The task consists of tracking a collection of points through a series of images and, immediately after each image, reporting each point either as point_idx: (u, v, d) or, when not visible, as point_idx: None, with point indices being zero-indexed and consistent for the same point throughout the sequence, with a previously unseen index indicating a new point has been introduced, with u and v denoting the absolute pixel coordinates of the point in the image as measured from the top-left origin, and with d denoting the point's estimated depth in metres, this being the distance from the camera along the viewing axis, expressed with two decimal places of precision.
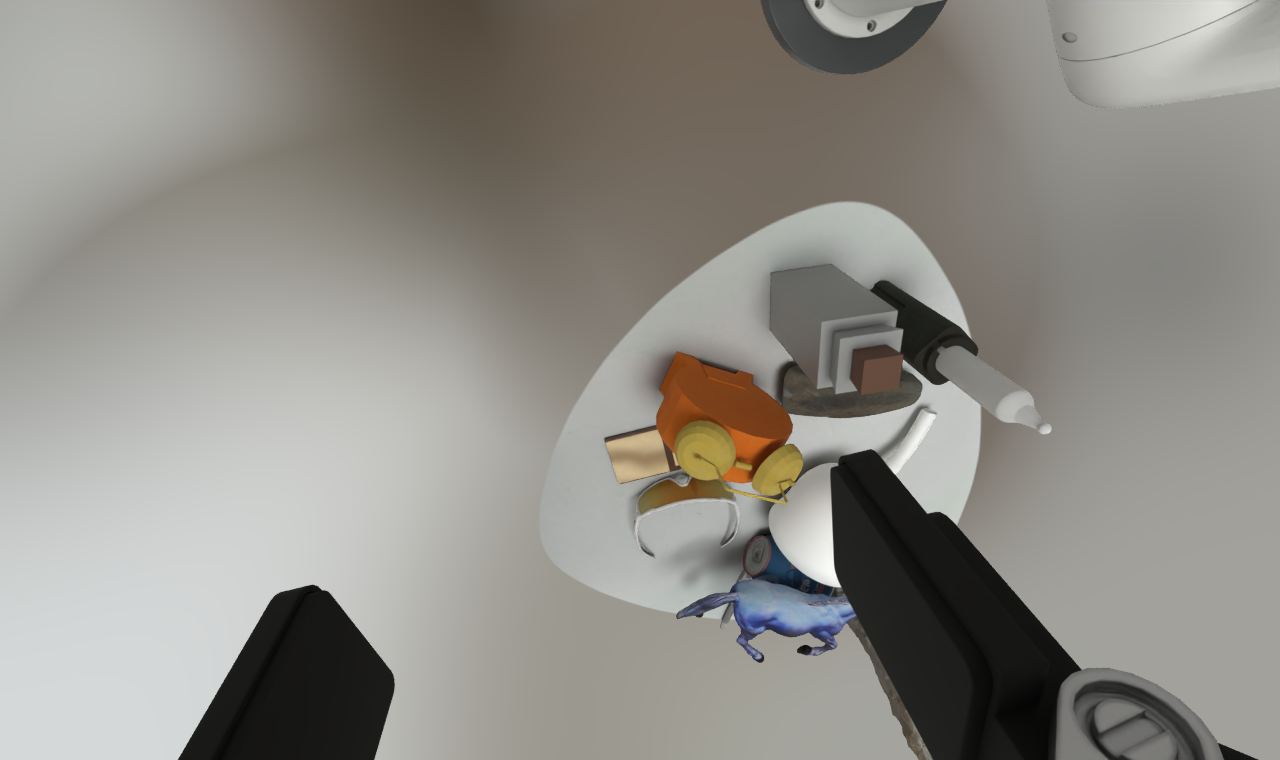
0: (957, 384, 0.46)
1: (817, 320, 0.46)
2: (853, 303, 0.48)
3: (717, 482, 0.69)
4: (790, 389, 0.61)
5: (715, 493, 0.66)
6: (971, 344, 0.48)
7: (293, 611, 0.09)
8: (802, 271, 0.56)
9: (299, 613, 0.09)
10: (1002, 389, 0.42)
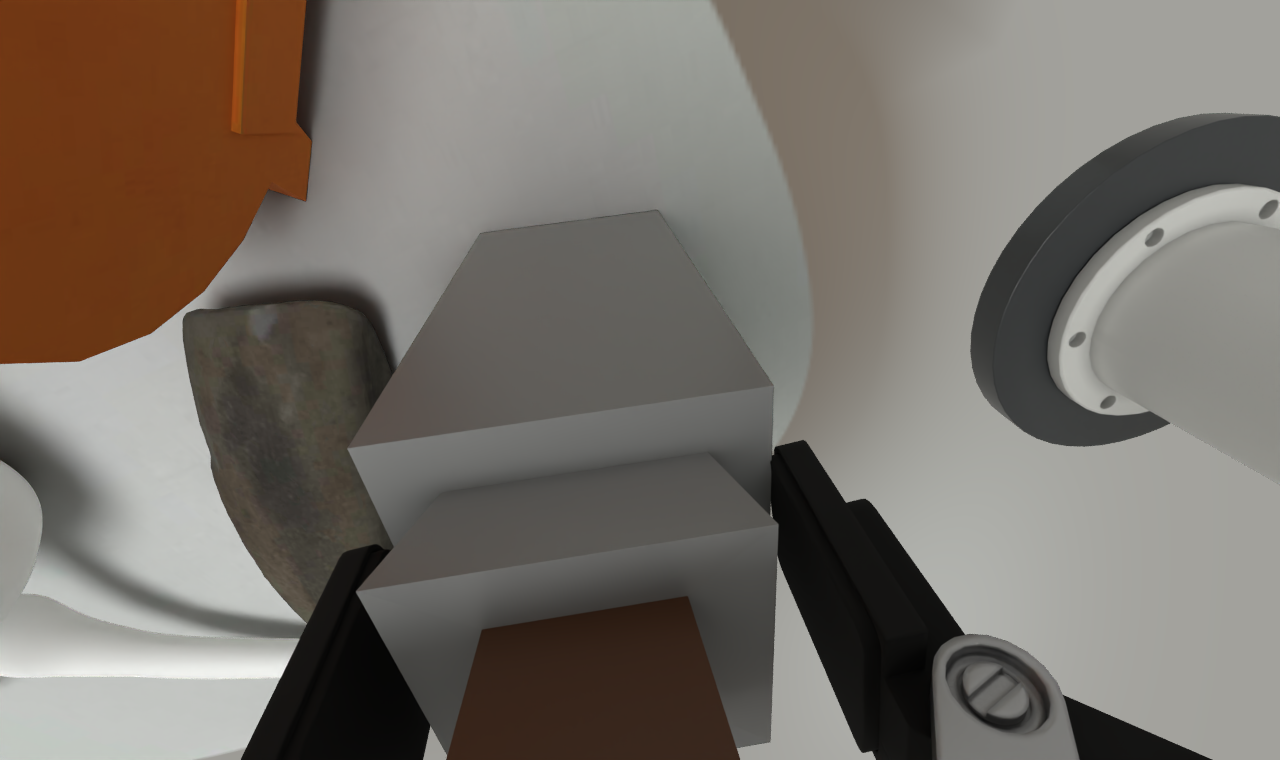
0: None
1: (743, 362, 0.09)
2: None
3: None
4: (281, 328, 0.18)
5: None
6: None
7: (362, 567, 0.09)
8: None
9: (368, 568, 0.09)
10: None
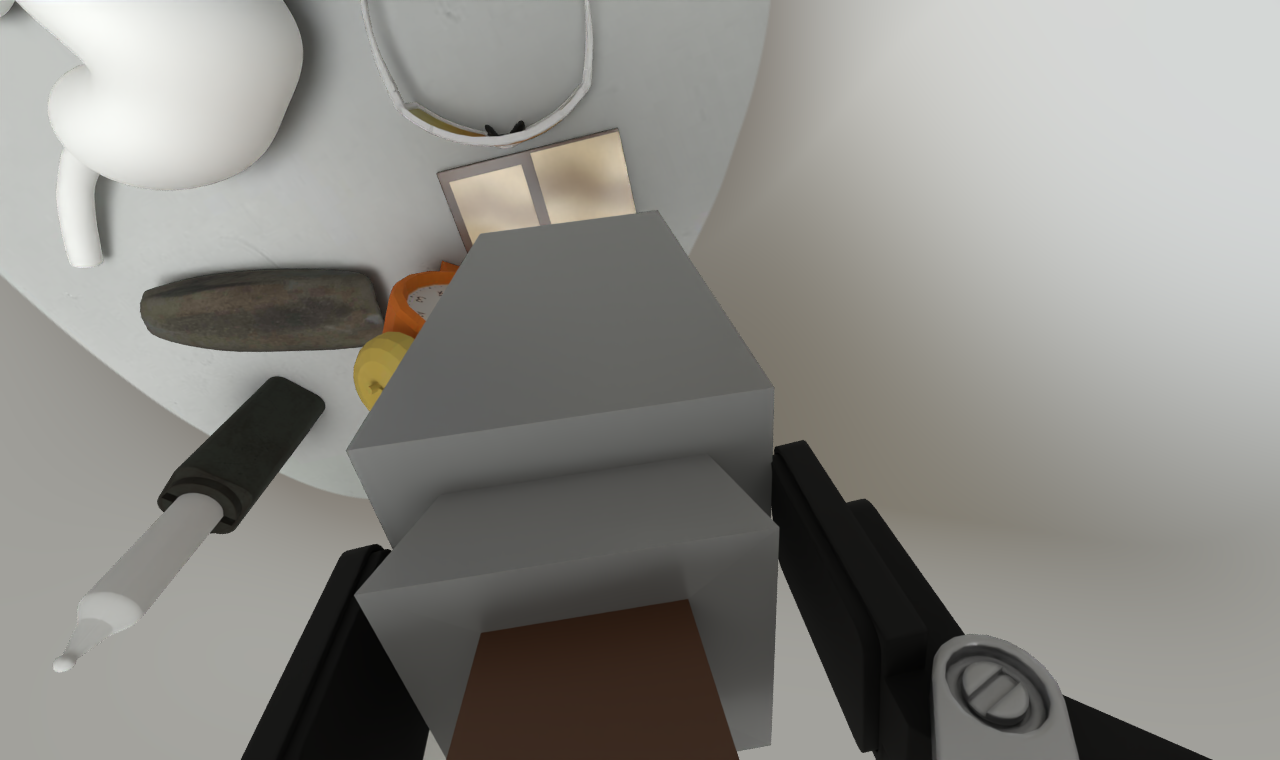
0: (185, 533, 0.34)
1: (743, 364, 0.09)
2: None
3: None
4: (372, 325, 0.42)
5: None
6: None
7: (362, 567, 0.09)
8: None
9: (368, 568, 0.09)
10: (145, 611, 0.31)
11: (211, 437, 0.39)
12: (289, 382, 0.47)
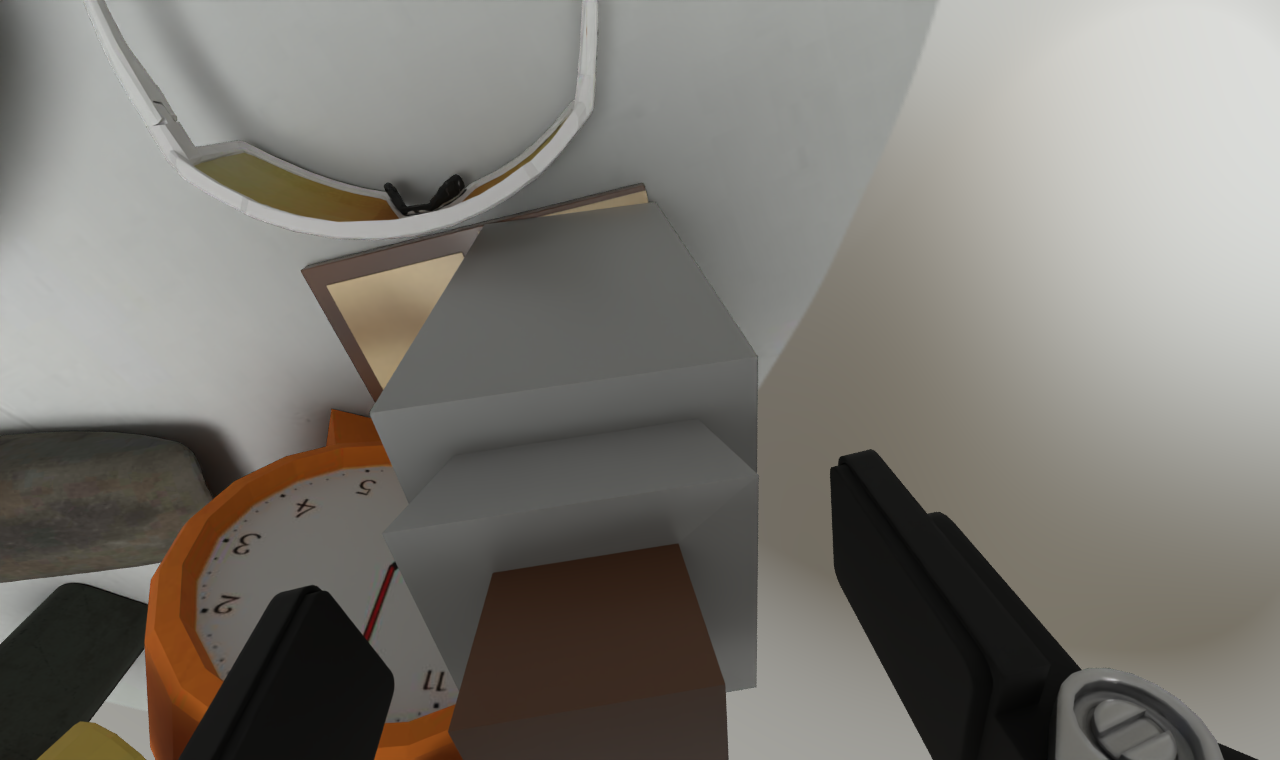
0: None
1: (731, 337, 0.10)
2: None
3: None
4: None
5: None
6: None
7: (293, 611, 0.09)
8: None
9: (299, 613, 0.09)
10: None
11: None
12: (92, 592, 0.28)
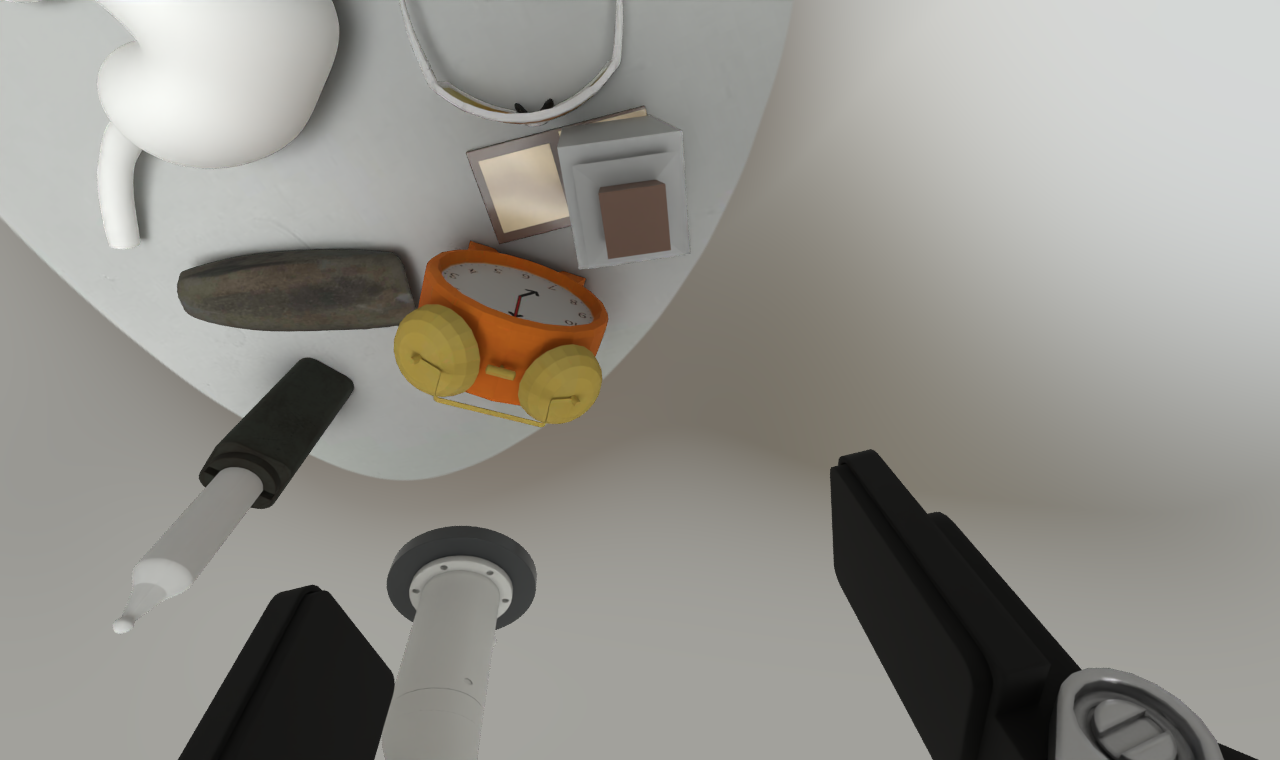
0: (229, 505, 0.34)
1: (674, 129, 0.29)
2: None
3: None
4: (403, 304, 0.43)
5: None
6: None
7: (293, 611, 0.09)
8: None
9: (299, 613, 0.09)
10: (195, 579, 0.32)
11: (249, 414, 0.39)
12: (319, 363, 0.47)
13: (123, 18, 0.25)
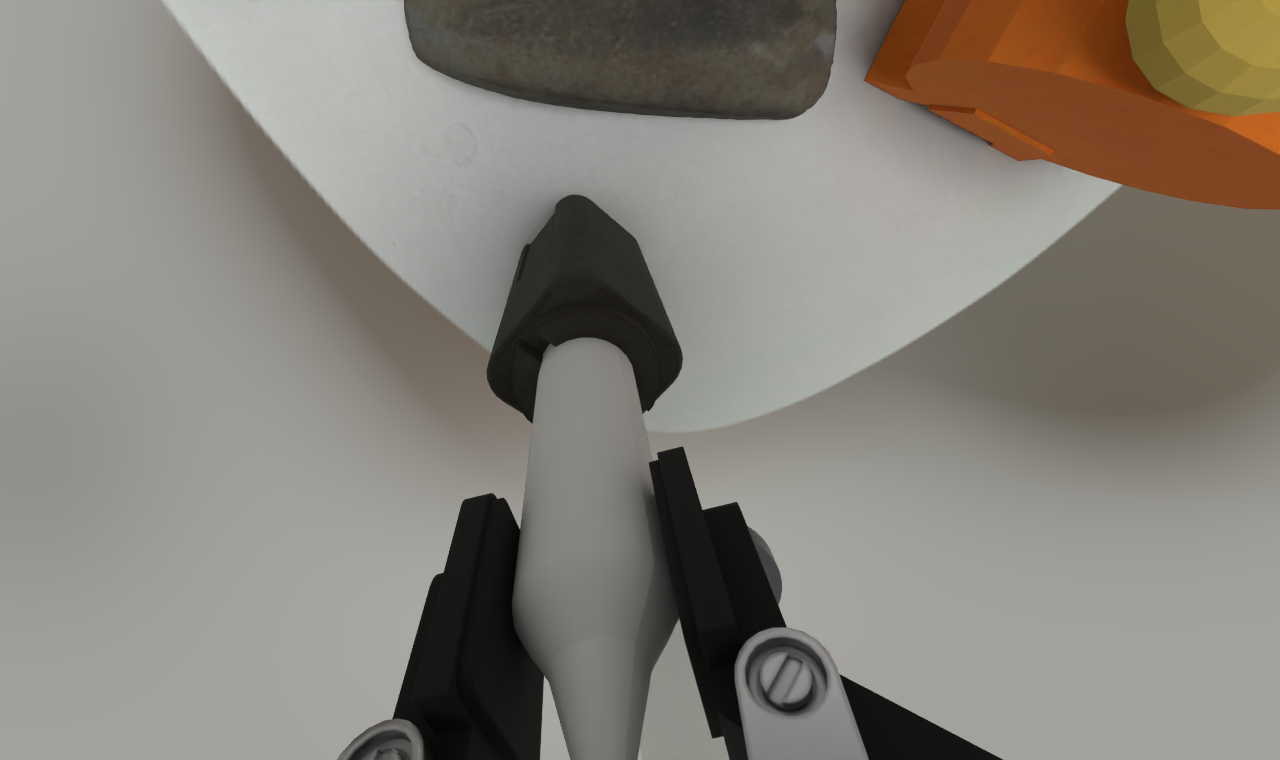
0: (638, 413, 0.13)
1: None
2: None
3: None
4: (818, 60, 0.22)
5: None
6: None
7: (484, 512, 0.10)
8: None
9: (491, 513, 0.10)
10: None
11: (566, 244, 0.18)
12: (596, 206, 0.26)
13: None
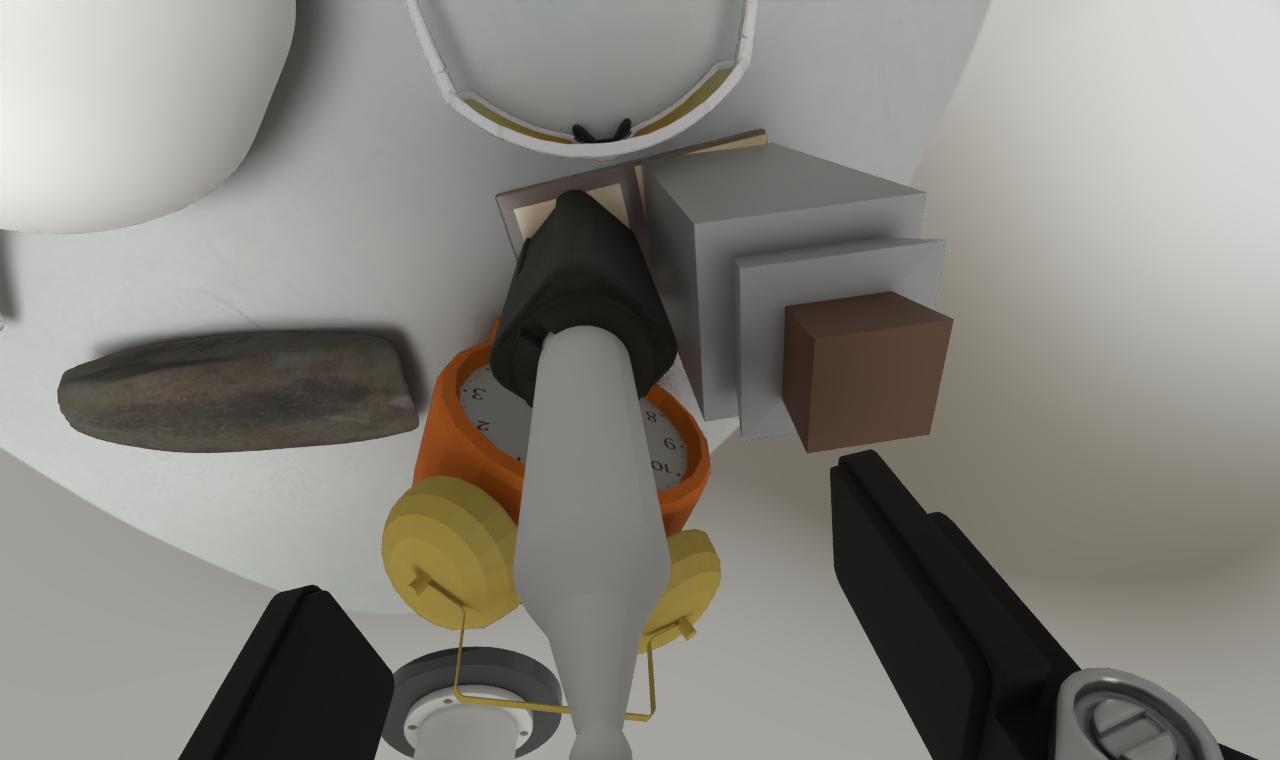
0: (633, 397, 0.14)
1: (901, 188, 0.16)
2: None
3: None
4: (398, 411, 0.30)
5: None
6: None
7: (293, 611, 0.09)
8: None
9: (299, 613, 0.09)
10: None
11: (566, 237, 0.19)
12: (595, 200, 0.27)
13: None
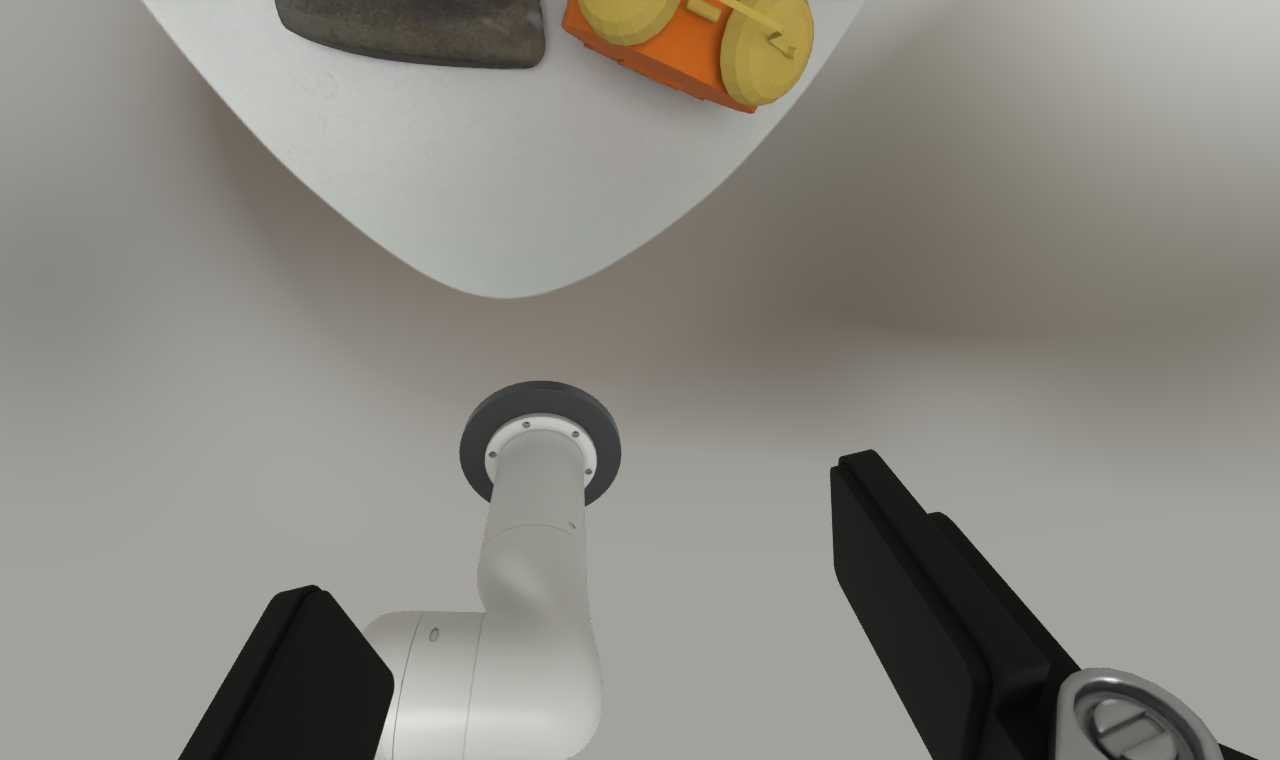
0: None
1: None
2: None
3: None
4: (531, 29, 0.37)
5: None
6: None
7: (293, 611, 0.09)
8: None
9: (299, 613, 0.09)
10: None
11: None
12: None
13: None
